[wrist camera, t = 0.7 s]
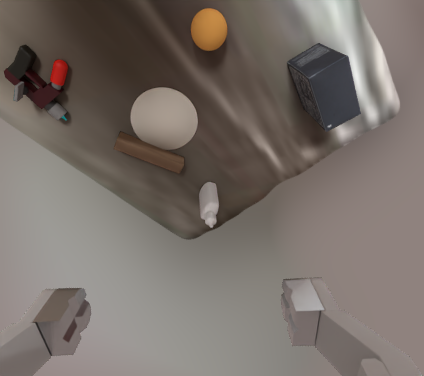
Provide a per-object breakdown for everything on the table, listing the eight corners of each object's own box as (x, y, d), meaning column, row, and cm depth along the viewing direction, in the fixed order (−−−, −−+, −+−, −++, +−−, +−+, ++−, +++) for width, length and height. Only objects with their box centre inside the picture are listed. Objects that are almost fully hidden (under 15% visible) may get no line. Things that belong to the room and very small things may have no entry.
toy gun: (63, 122, 51) (54, 134, 47) (2, 68, 44) (-15, 76, 41) (98, 93, 48) (91, 103, 44) (39, 31, 42) (24, 36, 38)
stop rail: (120, 131, 53) (117, 138, 50) (184, 157, 58) (184, 165, 55) (116, 141, 54) (113, 148, 52) (179, 166, 59) (179, 173, 57)
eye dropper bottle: (222, 189, 64) (228, 225, 55) (203, 200, 66) (206, 237, 57) (211, 178, 62) (216, 214, 53) (192, 190, 64) (194, 227, 54)
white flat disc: (144, 74, 46) (144, 74, 46) (209, 106, 51) (209, 107, 51) (121, 134, 53) (121, 134, 53) (181, 158, 58) (181, 158, 58)
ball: (200, -2, 40) (202, 1, 36) (231, 19, 42) (236, 24, 38) (184, 35, 43) (184, 42, 39) (214, 53, 45) (217, 61, 41)
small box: (335, 93, 52) (363, 114, 43) (303, 110, 53) (325, 134, 45) (320, 40, 45) (350, 54, 37) (285, 61, 47) (306, 79, 39)
